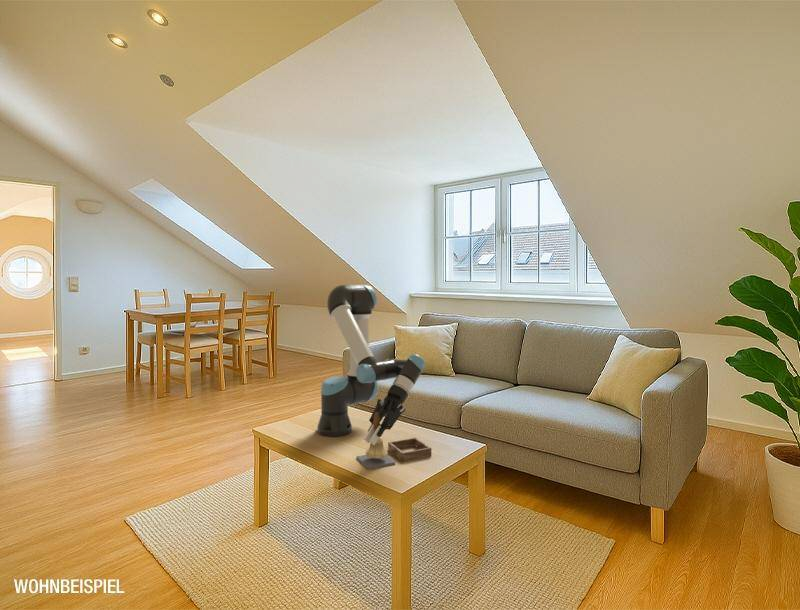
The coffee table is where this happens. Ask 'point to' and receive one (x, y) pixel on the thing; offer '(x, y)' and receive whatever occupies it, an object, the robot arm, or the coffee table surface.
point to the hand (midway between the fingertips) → (369, 442)
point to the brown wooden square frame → (404, 456)
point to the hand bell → (378, 448)
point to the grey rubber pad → (375, 461)
